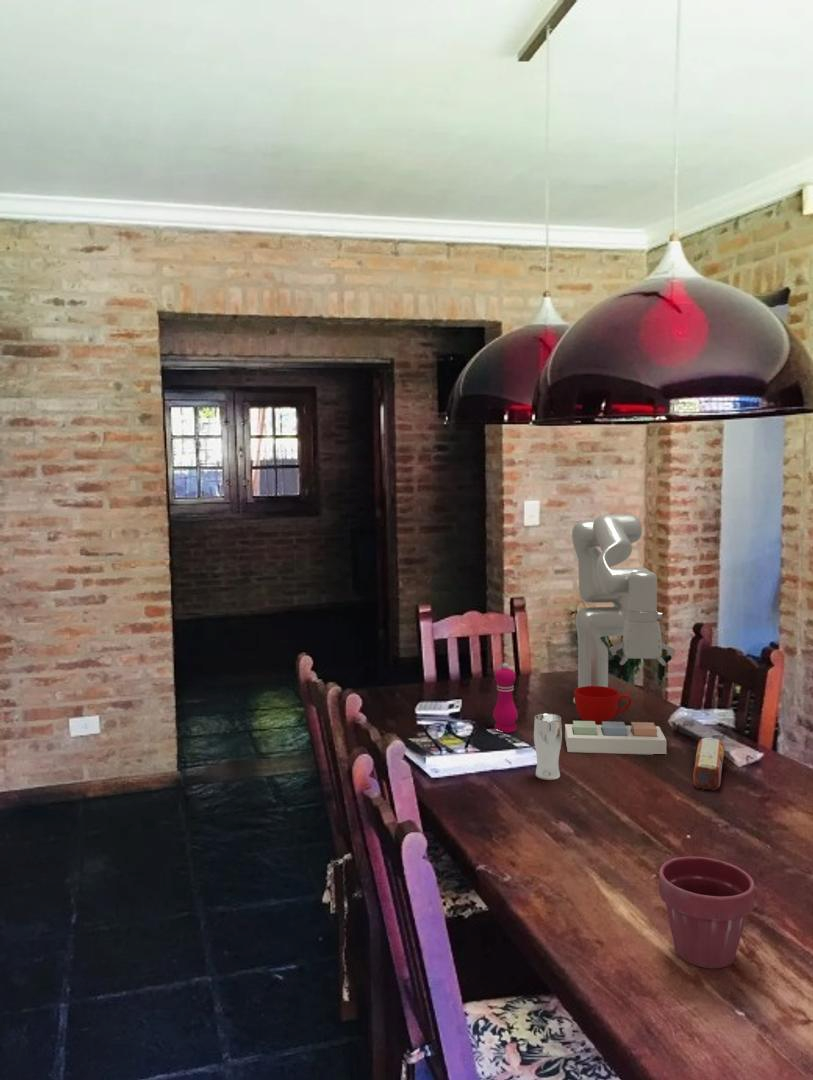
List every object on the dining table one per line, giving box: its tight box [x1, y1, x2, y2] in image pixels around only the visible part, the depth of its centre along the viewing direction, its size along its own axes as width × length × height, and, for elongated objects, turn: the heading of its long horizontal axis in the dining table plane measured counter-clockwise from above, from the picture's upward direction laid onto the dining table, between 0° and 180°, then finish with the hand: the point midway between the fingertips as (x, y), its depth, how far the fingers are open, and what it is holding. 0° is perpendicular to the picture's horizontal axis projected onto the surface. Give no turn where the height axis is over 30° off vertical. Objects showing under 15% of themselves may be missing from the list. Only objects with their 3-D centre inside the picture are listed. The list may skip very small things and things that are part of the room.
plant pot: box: [658, 856, 755, 969], centre depth 134 cm, size 14×14×13 cm
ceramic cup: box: [573, 686, 632, 725], centre depth 252 cm, size 13×17×10 cm
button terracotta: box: [630, 721, 657, 737], centre depth 231 cm, size 6×6×2 cm
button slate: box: [602, 721, 627, 736], centre depth 232 cm, size 6×6×2 cm
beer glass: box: [533, 713, 563, 781], centre depth 210 cm, size 7×7×15 cm
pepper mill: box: [492, 662, 519, 734], centre depth 247 cm, size 7×7×20 cm
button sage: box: [572, 720, 597, 735], centre depth 233 cm, size 6×6×2 cm
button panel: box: [564, 723, 667, 755], centre depth 232 cm, size 12×26×4 cm, turn 83°
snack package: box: [692, 737, 726, 791], centre depth 210 cm, size 21×7×7 cm, turn 157°
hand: (642, 678), depth 229 cm, fingers open, 9 cm apart
